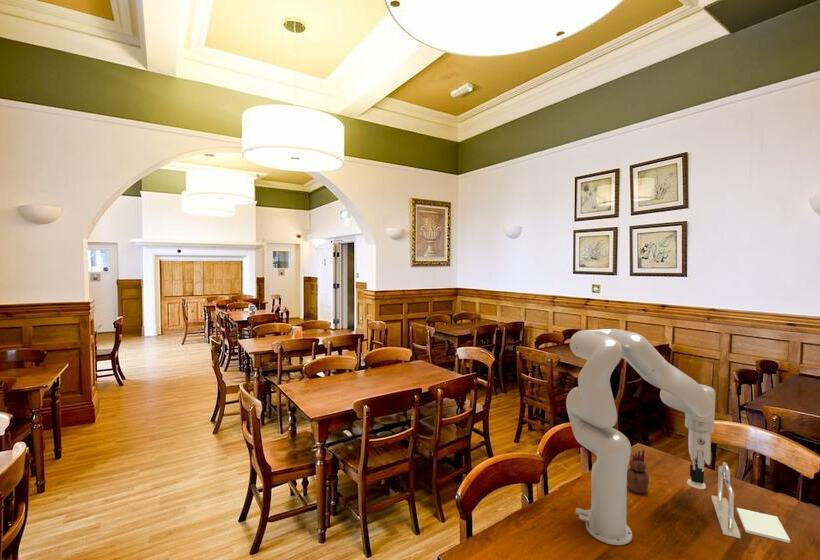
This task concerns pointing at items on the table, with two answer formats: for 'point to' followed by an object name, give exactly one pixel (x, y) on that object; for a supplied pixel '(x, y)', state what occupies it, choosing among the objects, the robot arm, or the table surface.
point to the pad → (762, 525)
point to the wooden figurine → (638, 474)
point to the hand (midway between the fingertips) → (696, 479)
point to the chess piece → (695, 484)
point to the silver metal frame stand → (725, 504)
